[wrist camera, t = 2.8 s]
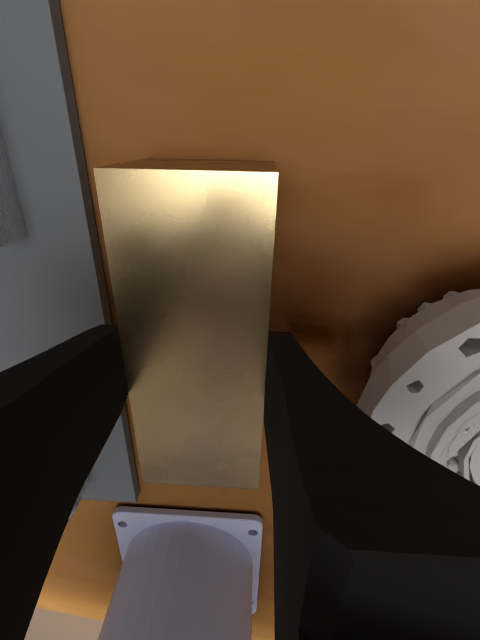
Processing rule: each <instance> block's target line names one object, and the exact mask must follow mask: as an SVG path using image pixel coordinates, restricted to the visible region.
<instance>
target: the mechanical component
mask: <svg viewBox="0 0 480 640" xmlns="http://www.w3.org/2000/svg"><path fill="white" fill-rule="evenodd" d="M417 311H418V313H416V314H415V315H413V316H412V317H410V318H402V319H401V320H399V321H397V325H396V328H397V330H396V331H395V332H394V333H393V334H392V335H391V336H390V337H389V338H388V339H387V341H386V342H385V344H384V345H383V347H382V348H381V350H380V351H379V353H378V355H377V356H375V357H374V358H373V359H372V360H371V366H372V371H371V373H370V379H369V380H368V382H367V384H366V386H365V388H364V390H363V393H362V395H361V397H360V399H359V401H358V403H357V405H356V406H357V407H358V408H359V409H361V410H362V411H363V412H364V413H366V414H367V415H368V416H369V417H370V418H372V419H373V420H374V421H376V422H377V423H378V424H380V425H381V426H382V427H384V428H385V429H387V430H388V431H390V432H391V433H392V434H394V435H395V436H397V437H398V438H400V439H401V440H403V441H404V442H405V443H407V444H408V445H410V446H412V447H413V448H415V449H416V450H418V451H419V452H421V453H423V454H424V455H426V456H427V457H429V458H431V459H433V460H434V461H436V462H438V463H439V464H441V465H443V466H445V467H446V468H448V469H450V470H451V471H453V472H455V473H457V474H458V475H460V476H462V477H464V478H466V479H467V480H469V481H471V482H473V483H475V484H477V485H479V486H480V289H474V290H467V291H464V292H461V293H458V292H456V291H449V292H448V293H447V294H445V295H444V296H443V299H442V300H440V301H437V302H434V303H426V302H424V303H423V304H422V305H421V306H420V307H419V308H418V309H417Z"/></svg>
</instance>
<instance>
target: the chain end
mask: <svg viewBox="0 0 480 640" xmlns="http://www.w3.org/2000/svg"><path fill="white" fill-rule="evenodd" d="M28 236H29V235H28V231H27V228H26V224H25V220H24V216H23V212H22V208H21V204H20V200H19V196H18V192H17V188H16V184H15V180H14V176H13V172H12V168H11V164H10V160H9V156H8V152H7V149H6V145H5V141H4V137H3V133H2V129H1V125H0V248H1V247H4V246H6V245H8V244H11V243H13V242H16V241H18V240H20V239H23V238H25V237H28Z"/></svg>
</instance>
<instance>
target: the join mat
mask: <svg viewBox="0 0 480 640" xmlns="http://www.w3.org/2000/svg"><path fill="white" fill-rule="evenodd" d="M0 125H1V129H2V133H3V137H4V141H5V145H6V149H7V152H8V156H9V160H10V164H11V168H12V172H13V176H14V180H15V184H16V188H17V192H18V196H19V200H20V204H21V208H22V212H23V216H24V220H25V224H26V228H27V231H28V235H29V236H28V237H25V238H23V239H20V240H18V241H16V242H13V243H11V244H8V245H6V246H4V247H1V248H0V372H1V371H4V370H6V369H8V368H10V367H12V366H14V365H17V364H19V363H21V362H23V361H25V360H27V359H30V358H32V357H34V356H36V355H38V354H40V353H42V352H44V351H46V350H48V349H50V348H52V347H54V346H56V345H58V344H60V343H62V342H64V341H66V340H68V339H70V338H72V337H74V336H76V335H78V334H80V333H82V332H84V331H86V330H89V329H91V328H93V327H96V326H99V325H101V324H103V325H112V321H111V315H110V309H109V303H108V296H107V290H106V284H105V278H104V272H103V266H102V260H101V254H100V248H99V242H98V236H97V230H96V224H95V217H94V211H93V205H92V199H91V193H90V187H89V181H88V175H87V169H86V163H85V157H84V151H83V145H82V138H81V132H80V126H79V120H78V114H77V108H76V102H75V96H74V90H73V84H72V78H71V72H70V66H69V60H68V53H67V47H66V41H65V35H64V29H63V23H62V17H61V11H60V5H59V0H0ZM89 476H90V482H89V484H88V486H87V488H86V490H85V492H84V494H83V496H82V498H81V499H88V500H104V501H120V502H136V501H137V498H138V495H139V493H140V491H139V485H138V479H137V473H136V467H135V461H134V454H133V448H132V442H131V436H130V430H129V424H128V418H127V412H126V406H125V404H124V407H123V409H122V412H121V414H120V416H119V418H118V420H117V422H116V424H115V426H114V428H113V430H112V432H111V434H110V436H109V438H108V440H107V442H106V444H105V445H104V447H103V449H102V451H101V453H100V455H99V457H98V459H97V460H96V462H95V464H94V466H93V468H92V470H91V472H90V474H89Z"/></svg>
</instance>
